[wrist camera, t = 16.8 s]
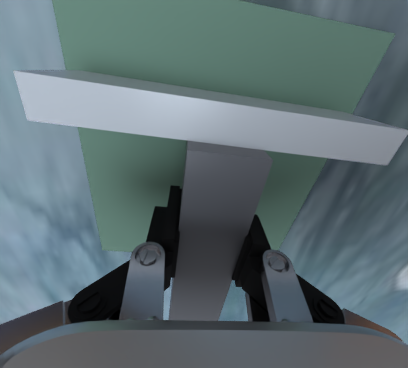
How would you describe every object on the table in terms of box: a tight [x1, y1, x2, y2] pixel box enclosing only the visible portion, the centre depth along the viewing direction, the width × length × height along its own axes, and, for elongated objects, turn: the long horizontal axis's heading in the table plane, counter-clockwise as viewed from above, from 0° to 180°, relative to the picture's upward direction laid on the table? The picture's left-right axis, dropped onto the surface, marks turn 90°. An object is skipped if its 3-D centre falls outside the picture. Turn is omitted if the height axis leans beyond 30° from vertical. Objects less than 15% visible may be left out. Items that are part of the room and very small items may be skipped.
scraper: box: [13, 70, 408, 321], centre depth 11 cm, size 14×14×5 cm
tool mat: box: [52, 0, 395, 252], centre depth 14 cm, size 16×18×1 cm
